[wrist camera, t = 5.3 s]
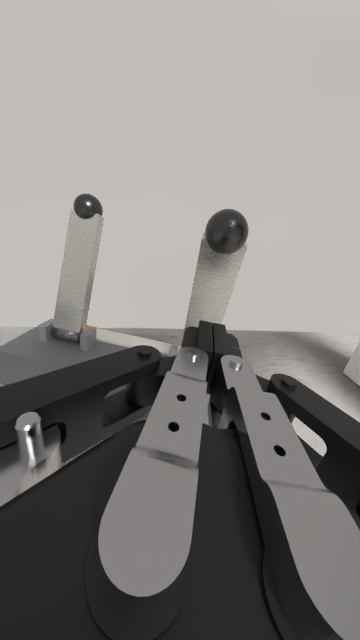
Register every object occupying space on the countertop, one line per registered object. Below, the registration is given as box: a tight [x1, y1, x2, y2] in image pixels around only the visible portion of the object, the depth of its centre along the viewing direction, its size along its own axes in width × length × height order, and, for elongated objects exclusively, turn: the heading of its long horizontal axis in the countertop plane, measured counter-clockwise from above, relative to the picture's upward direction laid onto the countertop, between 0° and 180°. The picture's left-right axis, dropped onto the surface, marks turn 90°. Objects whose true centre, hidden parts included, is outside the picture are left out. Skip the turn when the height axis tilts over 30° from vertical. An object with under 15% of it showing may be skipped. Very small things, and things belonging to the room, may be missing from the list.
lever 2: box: [181, 209, 248, 346], centre depth 18 cm, size 3×3×16 cm
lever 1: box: [51, 194, 104, 344], centre depth 23 cm, size 3×3×16 cm
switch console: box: [0, 319, 210, 425], centre depth 24 cm, size 24×8×6 cm, turn 83°
